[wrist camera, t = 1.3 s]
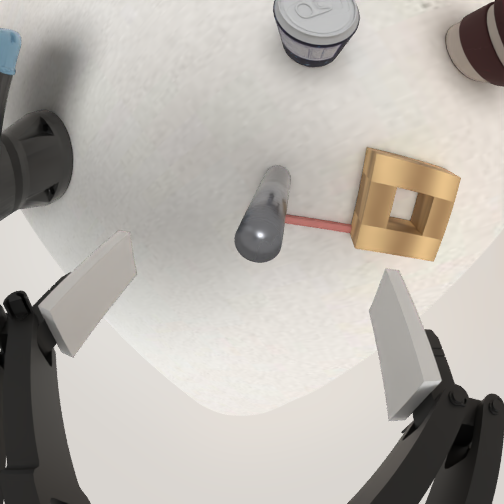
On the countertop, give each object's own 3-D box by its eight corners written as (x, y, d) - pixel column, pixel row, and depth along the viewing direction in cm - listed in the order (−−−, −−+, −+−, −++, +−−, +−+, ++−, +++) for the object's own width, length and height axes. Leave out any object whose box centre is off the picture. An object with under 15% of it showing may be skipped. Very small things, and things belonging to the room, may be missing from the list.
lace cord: (247, 215, 32) (246, 217, 32) (247, 209, 32) (246, 211, 31) (349, 231, 31) (350, 233, 30) (351, 224, 31) (351, 226, 30)
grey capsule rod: (263, 188, 30) (233, 258, 17) (266, 164, 29) (235, 217, 16) (289, 191, 30) (278, 265, 17) (292, 167, 29) (284, 224, 16)
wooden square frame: (349, 231, 31) (354, 248, 28) (366, 147, 26) (376, 153, 22) (422, 244, 30) (433, 261, 27) (444, 168, 25) (460, 177, 21)
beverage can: (348, 57, 21) (379, 28, 11) (300, 76, 23) (300, 55, 13) (321, 13, 19) (332, -37, 9) (272, 32, 21) (254, -10, 11)
